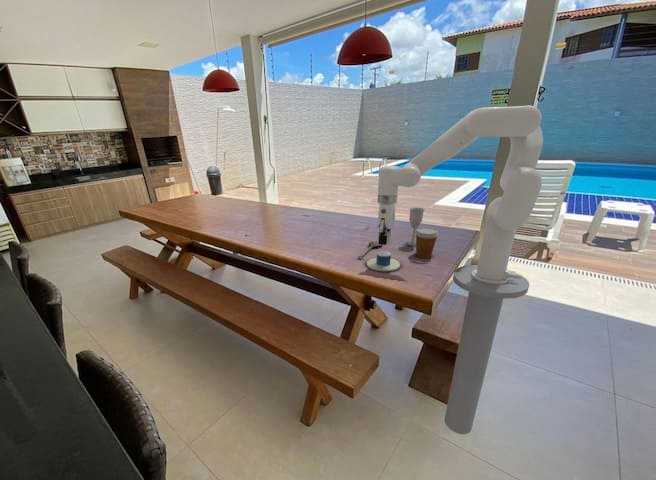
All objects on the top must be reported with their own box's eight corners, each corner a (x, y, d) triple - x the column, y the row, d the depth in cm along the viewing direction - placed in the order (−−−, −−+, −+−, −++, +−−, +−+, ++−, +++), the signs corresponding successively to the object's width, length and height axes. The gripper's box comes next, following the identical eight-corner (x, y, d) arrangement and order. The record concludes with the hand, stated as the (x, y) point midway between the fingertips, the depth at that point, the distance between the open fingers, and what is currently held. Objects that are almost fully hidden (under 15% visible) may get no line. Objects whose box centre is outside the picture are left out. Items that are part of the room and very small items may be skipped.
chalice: (403, 242, 156) (407, 207, 149) (417, 241, 156) (421, 207, 148) (407, 247, 150) (412, 211, 142) (421, 247, 150) (426, 211, 142)
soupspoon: (384, 246, 154) (371, 244, 157) (384, 240, 152) (372, 238, 156) (365, 260, 137) (352, 258, 141) (366, 253, 136) (352, 251, 140)
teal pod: (391, 261, 133) (392, 252, 131) (388, 266, 129) (389, 256, 127) (378, 259, 136) (378, 250, 134) (374, 264, 131) (375, 255, 129)
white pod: (391, 241, 129) (392, 231, 128) (388, 245, 125) (389, 235, 124) (379, 240, 132) (380, 230, 130) (376, 244, 128) (376, 233, 126)
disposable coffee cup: (426, 261, 134) (430, 235, 128) (408, 254, 141) (411, 230, 136) (439, 256, 138) (443, 230, 133) (421, 249, 145) (424, 225, 140)
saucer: (403, 261, 135) (403, 259, 134) (396, 273, 124) (396, 271, 123) (371, 257, 141) (371, 255, 141) (362, 268, 130) (362, 266, 130)
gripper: (392, 203, 113) (388, 250, 120) (401, 195, 126) (397, 237, 133) (371, 202, 116) (369, 247, 123) (383, 194, 130) (380, 235, 137)
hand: (384, 241), depth 128 cm, fingers closed on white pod, 5 cm apart
